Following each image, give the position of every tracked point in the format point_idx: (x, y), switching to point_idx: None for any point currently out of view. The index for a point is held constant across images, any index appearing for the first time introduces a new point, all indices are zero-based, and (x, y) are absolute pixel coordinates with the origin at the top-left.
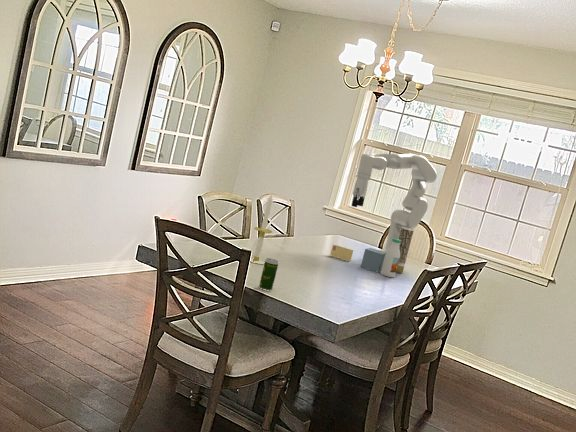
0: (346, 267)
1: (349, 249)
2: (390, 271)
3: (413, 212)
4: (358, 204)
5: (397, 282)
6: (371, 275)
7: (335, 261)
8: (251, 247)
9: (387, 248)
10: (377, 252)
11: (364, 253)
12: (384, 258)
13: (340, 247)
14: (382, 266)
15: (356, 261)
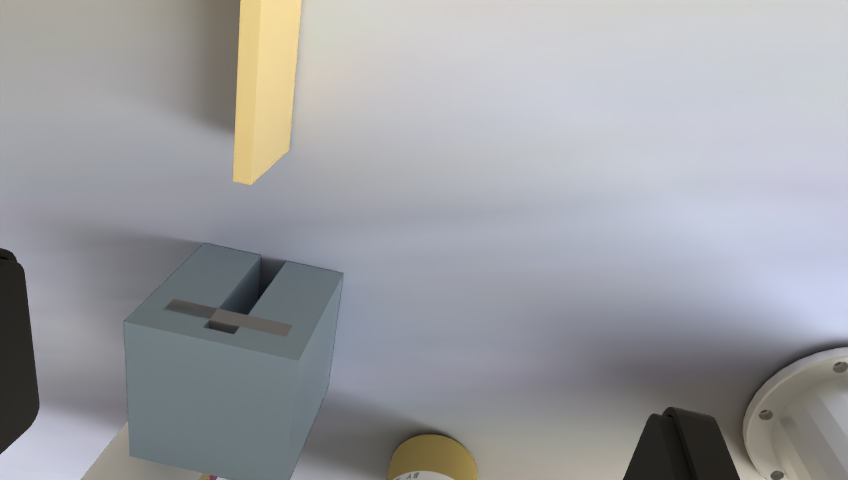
0: (8, 158)
1: (234, 147)
2: None
3: None
4: (644, 465)
5: (85, 463)
6: None
7: (94, 42)
8: None
9: (846, 472)
10: (143, 420)
11: (147, 302)
12: (112, 456)
13: (242, 42)
14: None
15: (389, 189)
